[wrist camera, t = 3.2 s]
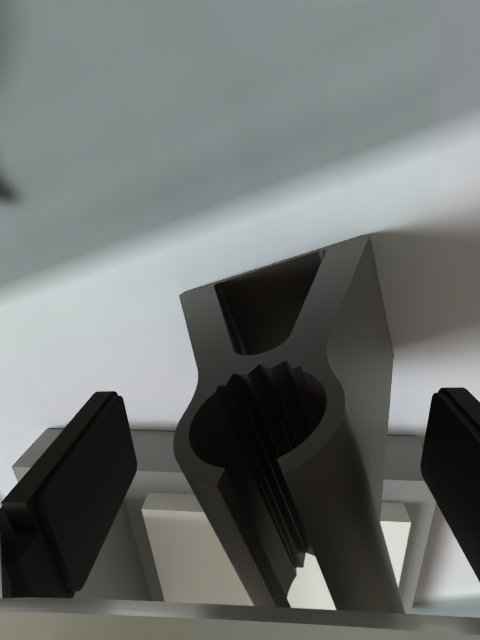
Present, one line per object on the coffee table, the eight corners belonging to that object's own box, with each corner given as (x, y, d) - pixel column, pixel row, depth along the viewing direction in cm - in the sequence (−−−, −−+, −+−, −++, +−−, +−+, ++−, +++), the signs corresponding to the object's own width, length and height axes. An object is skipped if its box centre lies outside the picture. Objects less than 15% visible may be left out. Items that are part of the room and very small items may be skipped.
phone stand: (367, 233, 14) (673, 406, 3) (390, 350, 16) (628, 700, 5) (181, 291, 16) (-18, 523, 5) (222, 390, 18) (142, 706, 7)
